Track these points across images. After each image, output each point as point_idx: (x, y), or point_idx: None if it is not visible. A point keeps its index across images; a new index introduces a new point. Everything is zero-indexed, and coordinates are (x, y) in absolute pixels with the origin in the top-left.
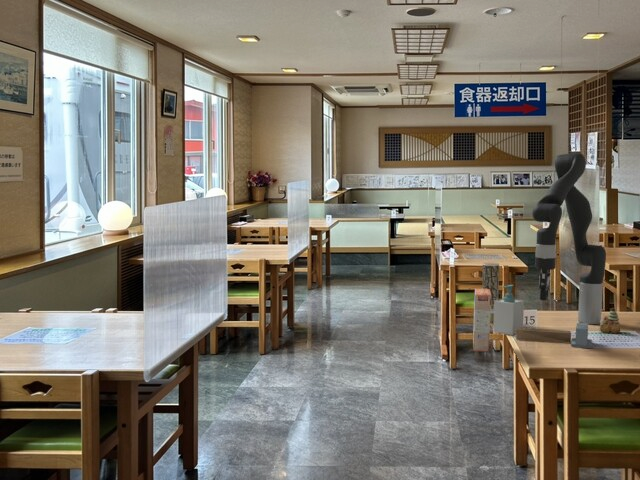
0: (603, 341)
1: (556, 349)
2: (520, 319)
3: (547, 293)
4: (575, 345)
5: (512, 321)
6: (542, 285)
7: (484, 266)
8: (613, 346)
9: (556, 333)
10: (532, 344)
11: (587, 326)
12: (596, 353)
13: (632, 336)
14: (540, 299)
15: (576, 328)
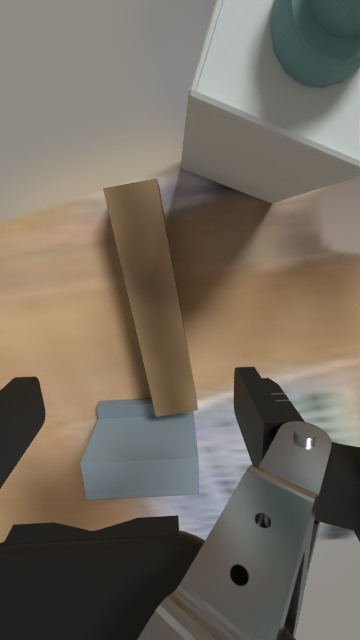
0: (219, 477)
1: (29, 363)
2: (265, 182)
3: (241, 427)
4: (99, 416)
5: (183, 144)
6: (274, 439)
7: None
8: (164, 502)
9: (145, 364)
10: (58, 275)
11: (139, 496)
12: (48, 470)
13: (318, 535)
14: (17, 380)
15: (80, 464)
